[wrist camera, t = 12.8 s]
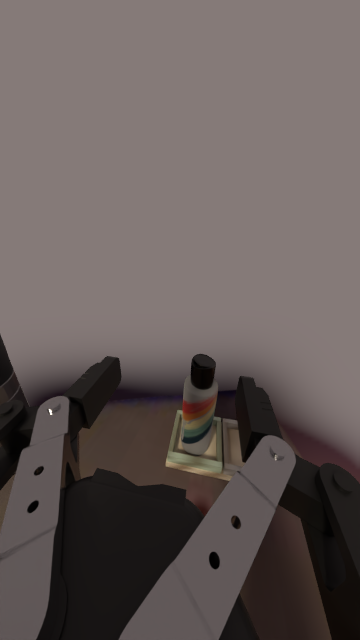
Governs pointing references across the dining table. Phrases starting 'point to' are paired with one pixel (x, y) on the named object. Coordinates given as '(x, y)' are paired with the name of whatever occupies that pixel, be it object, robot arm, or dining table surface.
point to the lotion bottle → (199, 405)
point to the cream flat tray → (209, 451)
